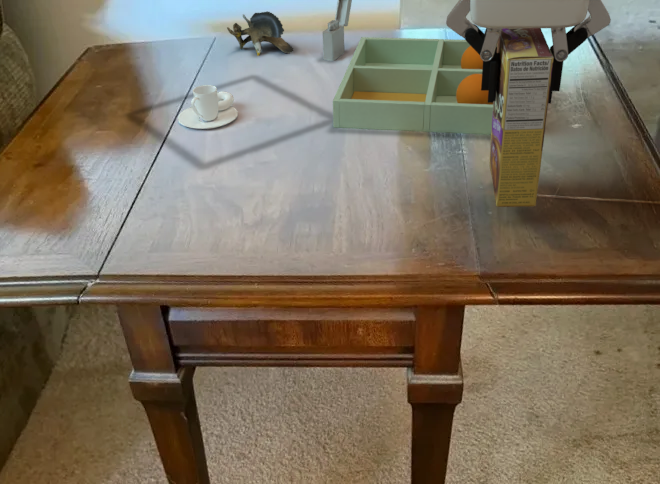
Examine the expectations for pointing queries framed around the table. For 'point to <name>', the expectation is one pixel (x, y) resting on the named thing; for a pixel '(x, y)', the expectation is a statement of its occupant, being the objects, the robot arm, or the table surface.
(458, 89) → the clementine
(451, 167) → the table surface
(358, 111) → the divided tray
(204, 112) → the teacup and saucer
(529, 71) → the candy box
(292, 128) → the table surface
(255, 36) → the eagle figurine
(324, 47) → the lighter
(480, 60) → the clementine
